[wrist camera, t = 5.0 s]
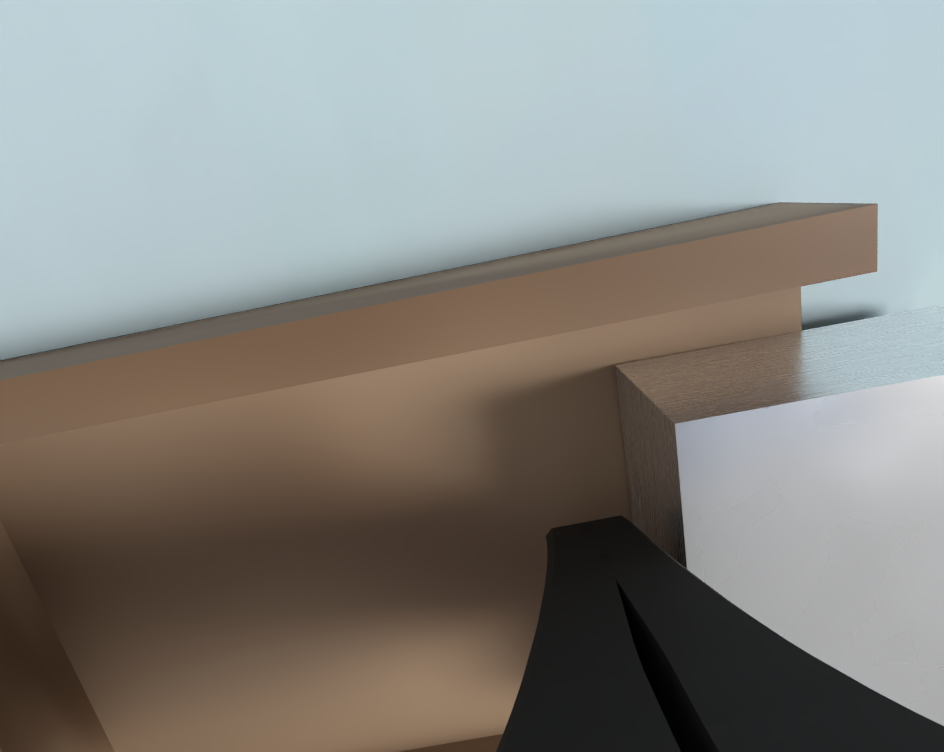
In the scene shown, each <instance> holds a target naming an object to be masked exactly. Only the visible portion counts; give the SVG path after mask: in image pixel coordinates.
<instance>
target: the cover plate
mask: <svg viewBox="0 0 944 752" xmlns="http://www.w3.org/2000/svg"><path fill="white" fill-rule="evenodd" d="M615 370H616V379H617V388H618V397H619V406H620V415H621V424H622V432H623V441H624V450H625V459H626V468H627V477H628V486H629V494H630V503H631V512H632V521H633V524H634V525H635V526H636V527H637V528H638V529H639V530H641V531H642V532H643V533H644V534H645V535H646V536H647V537H649V538H650V539H651V540H652V541H653V542H655V543H656V544H657V545H658V546H659V547H660V548H662V549H663V550H664V551H665V552H667V553H668V554H669V555H670V556H671V557H673V558H674V559H675V560H676V561H678V562H679V563H680V564H681V565H683V566H684V567H685V568H686V569H688V570H689V571H690V572H691V573H693V574H694V575H695V576H697V577H698V578H699V579H701V580H702V581H703V582H705V583H706V584H707V585H709V586H710V587H711V588H713V589H714V590H715V591H717V592H718V593H719V594H721V595H722V596H723V597H725V598H726V599H727V600H729V601H730V602H732V603H733V604H735V605H736V606H737V607H739V608H740V609H742V610H743V611H744V612H746V613H747V614H749V615H750V616H752V617H753V618H755V619H756V620H758V621H759V622H761V623H762V624H764V625H765V626H767V627H768V628H770V629H771V630H773V631H774V632H776V633H777V634H779V635H780V636H782V637H783V638H785V639H786V640H788V641H789V642H791V643H793V644H794V645H796V646H797V647H799V648H801V649H802V650H804V651H806V652H807V653H809V654H810V655H812V656H814V657H816V658H817V659H819V660H821V661H823V662H824V663H826V664H828V665H830V666H832V667H833V668H835V669H837V670H839V671H840V672H842V673H844V674H846V675H847V676H849V677H851V678H853V679H854V680H856V681H858V682H860V683H861V684H863V685H865V686H867V687H868V688H870V689H872V690H874V691H876V692H878V693H879V694H881V695H883V696H885V697H887V698H889V699H891V700H893V701H895V702H897V703H899V704H901V705H902V706H904V707H906V708H908V709H910V710H912V711H914V712H916V713H918V714H920V715H922V716H924V717H926V718H928V719H930V720H932V721H934V722H936V723H938V724H940V725H943V726H944V308H942V307H938V306H932V307H927V308H922V309H916V310H911V311H905V312H900V313H894V314H889V315H884V316H878V317H873V318H867V319H862V320H856V321H851V322H846V323H840V324H835V325H829V326H824V327H818V328H813V329H808V330H802V331H797V332H791V333H786V334H780V335H775V336H770V337H764V338H759V339H753V340H748V341H742V342H737V343H732V344H726V345H721V346H715V347H710V348H704V349H699V350H694V351H688V352H683V353H677V354H672V355H666V356H661V357H656V358H650V359H645V360H639V361H634V362H628V363H623V364H618V365H615Z"/></svg>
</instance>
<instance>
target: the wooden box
mask: <svg viewBox="0 0 944 752" xmlns="http://www.w3.org/2000/svg"><path fill="white" fill-rule="evenodd" d="M877 208H878V204H853V203H781V202H780V203H775V204H770V205H765V206H760V207H755V208H750V209H745V210H740V211H735V212H730V213H725V214H720V215H715V216H711V217H706V218H701V219H696V220H691V221H686V222H681V223H676V224H671V225H666V226H661V227H656V228H651V229H646V230H641V231H637V232H632V233H627V234H622V235H617V236H612V237H607V238H602V239H597V240H592V241H587V242H582V243H577V244H572V245H567V246H563V247H558V248H553V249H548V250H543V251H538V252H533V253H528V254H523V255H518V256H513V257H508V258H503V259H498V260H493V261H489V262H484V263H479V264H474V265H469V266H464V267H459V268H454V269H449V270H444V271H439V272H434V273H429V274H424V275H419V276H415V277H410V278H405V279H400V280H395V281H390V282H385V283H380V284H375V285H370V286H365V287H360V288H355V289H350V290H345V291H341V292H336V293H331V294H326V295H321V296H316V297H311V298H306V299H301V300H296V301H291V302H286V303H281V304H276V305H271V306H267V307H262V308H257V309H252V310H247V311H242V312H237V313H232V314H227V315H222V316H217V317H212V318H207V319H202V320H197V321H193V322H188V323H183V324H178V325H173V326H168V327H163V328H158V329H153V330H148V331H143V332H138V333H133V334H128V335H123V336H119V337H114V338H109V339H104V340H99V341H94V342H89V343H84V344H79V345H74V346H69V347H64V348H59V349H54V350H49V351H45V352H40V353H35V354H30V355H25V356H20V357H15V358H10V359H5V360H0V752H496V751H497V748H498V746H499V743H500V741H501V738H502V735H503V733H504V730H505V728H506V725H507V722H508V720H509V717H510V714H511V711H512V709H513V706H514V703H515V700H516V697H517V694H518V691H519V688H520V685H521V682H522V679H523V676H524V672H525V668H526V665H527V661H528V657H529V654H530V650H531V647H532V643H533V639H534V636H535V632H536V628H537V624H538V619H539V614H540V608H541V603H542V598H543V592H544V587H545V579H546V571H547V555H548V553H547V541H546V535H547V534H548V533H549V531H550V530H551V529H552V528H556V527H561V526H566V525H572V524H577V523H582V522H588V521H593V520H599V519H604V518H609V517H615V516H620V515H622V516H623V517H625V518H626V519H628V520H629V521H630V522H631V523H633V521H632V512H631V503H630V494H629V486H628V477H627V468H626V459H625V450H624V441H623V432H622V424H621V415H620V406H619V397H618V388H617V379H616V370H615V365H618V364H623V363H628V362H634V361H639V360H645V359H650V358H656V357H661V356H666V355H672V354H677V353H683V352H688V351H694V350H699V349H704V348H710V347H715V346H721V345H726V344H732V343H737V342H742V341H748V340H753V339H759V338H764V337H770V336H775V335H780V334H786V333H791V332H797V331H802V316H801V286H805V285H810V284H816V283H821V282H826V281H831V280H836V279H841V278H846V277H851V276H856V275H861V274H866V273H871V272H877Z"/></svg>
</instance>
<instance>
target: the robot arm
mask: <svg viewBox="0 0 944 752" xmlns="http://www.w3.org/2000/svg"><path fill="white" fill-rule="evenodd" d="M546 541H547V553H548V555H547V571H546V579H545V587H544V592H543V598H542V603H541V608H540V614H539V619H538V624H537V628H536V632H535V636H534V639H533V643H532V647H531V650H530V654H529V657H528V661H527V665H526V668H525V672H524V676H523V679H522V682H521V685H520V688H519V691H518V694H517V697H516V700H515V703H514V706H513V709H512V711H511V714H510V717H509V720H508V722H507V725H506V728H505V730H504V733H503V735H502V738H501V741H500V743H499V746H498V748H497V751H496V752H944V726H943V725H940V724H938V723H936V722H934V721H932V720H930V719H928V718H926V717H924V716H922V715H920V714H918V713H916V712H914V711H912V710H910V709H908V708H906V707H904V706H902V705H901V704H899V703H897V702H895V701H893V700H891V699H889V698H887V697H885V696H883V695H881V694H879V693H878V692H876V691H874V690H872V689H870V688H868V687H867V686H865V685H863V684H861V683H860V682H858V681H856V680H854V679H853V678H851V677H849V676H847V675H846V674H844V673H842V672H840V671H839V670H837V669H835V668H833V667H832V666H830V665H828V664H826V663H824V662H823V661H821V660H819V659H817V658H816V657H814V656H812V655H810V654H809V653H807V652H806V651H804V650H802V649H801V648H799V647H797V646H796V645H794V644H793V643H791V642H789V641H788V640H786V639H785V638H783V637H782V636H780V635H779V634H777V633H776V632H774V631H773V630H771V629H770V628H768V627H767V626H765V625H764V624H762V623H761V622H759V621H758V620H756V619H755V618H753V617H752V616H750V615H749V614H747V613H746V612H744V611H743V610H742V609H740V608H739V607H737V606H736V605H735V604H733V603H732V602H730V601H729V600H727V599H726V598H725V597H723V596H722V595H721V594H719V593H718V592H717V591H715V590H714V589H713V588H711V587H710V586H709V585H707V584H706V583H705V582H703V581H702V580H701V579H699V578H698V577H697V576H695V575H694V574H693V573H691V572H690V571H689V570H688V569H686V568H685V567H684V566H683V565H681V564H680V563H679V562H678V561H676V560H675V559H674V558H673V557H671V556H670V555H669V554H668V553H667V552H665V551H664V550H663V549H662V548H660V547H659V546H658V545H657V544H656V543H655V542H653V541H652V540H651V539H650V538H649V537H647V536H646V535H645V534H644V533H643V532H642V531H641V530H639V529H638V528H637V527H636V526H635V525H634V524H633V523H631V522H630V521H629V520H628V519H626V518H625V517H623V516H622V515H620V516H615V517H609V518H604V519H599V520H593V521H588V522H582V523H577V524H572V525H566V526H561V527H556V528H552V529H551V530H550V531H549V533H548V534H547V535H546Z"/></svg>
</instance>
